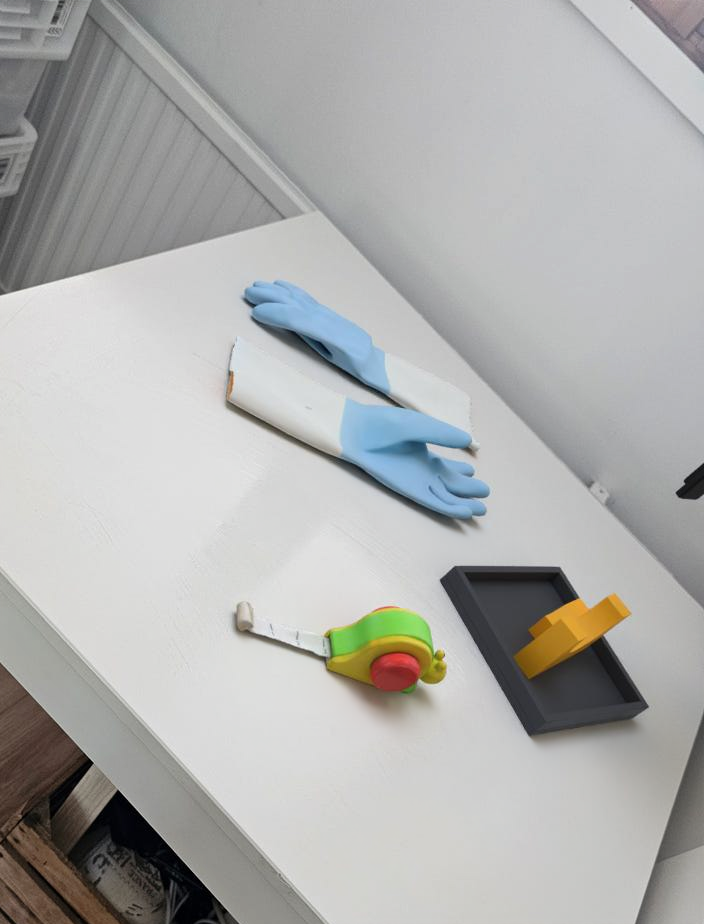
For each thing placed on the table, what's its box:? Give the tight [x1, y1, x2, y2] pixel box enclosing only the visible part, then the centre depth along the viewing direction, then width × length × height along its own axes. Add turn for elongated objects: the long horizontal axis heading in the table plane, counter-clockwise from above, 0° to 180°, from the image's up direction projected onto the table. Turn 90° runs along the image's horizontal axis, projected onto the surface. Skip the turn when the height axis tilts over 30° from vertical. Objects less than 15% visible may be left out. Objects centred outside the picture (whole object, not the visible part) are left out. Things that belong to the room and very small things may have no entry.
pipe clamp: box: [513, 592, 632, 679], centre depth 101 cm, size 12×4×6 cm, turn 129°
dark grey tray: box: [439, 565, 650, 736], centre depth 102 cm, size 18×18×2 cm
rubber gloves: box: [226, 279, 491, 520], centre depth 112 cm, size 27×33×6 cm
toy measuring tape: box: [236, 601, 448, 694], centre depth 84 cm, size 6×20×7 cm, turn 91°
